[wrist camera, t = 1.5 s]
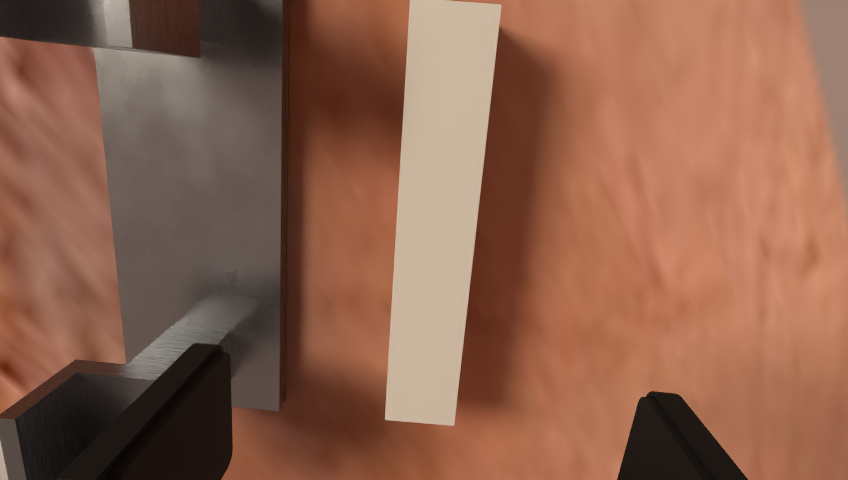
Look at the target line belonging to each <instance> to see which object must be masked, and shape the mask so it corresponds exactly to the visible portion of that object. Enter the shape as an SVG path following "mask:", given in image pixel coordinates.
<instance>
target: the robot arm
mask: <svg viewBox="0 0 848 480" xmlns="http://www.w3.org/2000/svg"><path fill="white" fill-rule="evenodd" d="M232 449H233V447H232V402H231V359H230V354H229V353H228V352H224V351H223V348H222V346H221V345H214V344H205V343H193V344H192V345H191V346H190V347H189V348H188V349H187V350H186V351H185V352H184V353H183V354H182V355H181V356H180V357H179V358H178V359H177V360H176V361H175V362H174V363H173V364H172V365H171V366H170V367H169V368H168V369H166V370H165V371H164V372H163V373H162V374H161V375H160V376H159V377H158V378H157V379H156V380H155V381H154V382H153V383H152V384H151V385H150V386H149V387H148V388H147V389H146V390H145V391H144V392H143V393H142V394H141V395H140V396H139V397H138V398H137V399H136V400H135V401H134V402H133V403H131V404H130V405H129V406H128V407H127V408H126V409H125V410H124V411H123V412H122V413H121V414H120V415H119V416H118V417H117V418H116V419H115V420H114V421H113V422H112V423H111V424H110V425H109V426H108V427H107V428H106V429H105V430H104V431H103V432H102V433H101V434H100V435H99V436H98V437H97V438H96V439H95V440H94V441H93V442H92V443H91V444H90V445H89V446H88V447H87V448H86V449H85V450H83V451H82V452H81V453H80V454H79V455H78V456H77V457H76V458H75V459H74V460H73V461H72V462H71V463H70V464H69V465H68V466H67V467H66V468H65V469H64V470H63V471H62V472H61V473H60V474H59V475H58V476H57V477H56V478H55V479H54V480H221V479H222V477H223V475H224V473H225V472H226V470H227V468H228V466H229V464H230V461H231V457H232ZM617 480H748V479H747V478H746V477H745V475H744V474H743V473H742V472H741V470H740V469H739V468H738V467H737V465H736V464H735V463H734V462H733V460H732V459H731V458H730V457H729V455H728V454H727V453H726V452H725V450H724V449H723V448H722V447H721V446H720V444H719V443H718V442H717V441H716V439H715V438H714V437H713V436H712V434H711V433H710V432H709V431H708V429H707V428H706V427H705V426H704V424H703V423H702V422H701V421H700V420H699V418H698V417H697V416H696V415H695V413H694V412H693V411H692V410H691V408H690V407H689V406H688V405H687V403H686V402H685V401H684V400H683V398H682V397H681V396H680V395H678V394H673V393H664V392H654V391H651V392H649V393H648V394H647V396H646V397H641V398H640V400H639V402H638V405H637V409H636V413H635V416H634V420H633V424H632V427H631V431H630V435H629V438H628V442H627V446H626V449H625V453H624V457H623V460H622V464H621V468H620V472H619V475H618V479H617Z"/></svg>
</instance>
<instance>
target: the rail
mask: <svg viewBox="0 0 848 480" xmlns="http://www.w3.org/2000/svg"><path fill="white" fill-rule="evenodd" d="M500 13H501V5H499V4H486V3H473V2H460V1H447V0H410V10H409V26H408V43H407V60H406V76H405V93H404V109H403V126H402V143H401V159H400V176H399V193H398V209H397V226H396V243H395V259H394V276H393V292H392V309H391V326H390V342H389V359H388V376H387V392H386V409H385V420H392V421H404V422H416V423H427V424H439V425H451V426H454V423H455V414H456V405H457V396H458V387H459V378H460V369H461V360H462V351H463V342H464V334H465V325H466V316H467V307H468V298H469V289H470V280H471V271H472V262H473V254H474V245H475V236H476V227H477V218H478V209H479V200H480V191H481V182H482V174H483V165H484V156H485V147H486V138H487V129H488V120H489V111H490V102H491V93H492V85H493V76H494V67H495V58H496V49H497V40H498V31H499V22H500Z"/></svg>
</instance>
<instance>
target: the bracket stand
mask: <svg viewBox="0 0 848 480" xmlns="http://www.w3.org/2000/svg"><path fill="white" fill-rule="evenodd" d="M289 19H290V0H0V37H6V38H13V39H21V40H28V41H37V42H46V43H56V44H66V45H76V46H85V47H94V52H95V61H96V71H97V81H98V91H99V101H100V110H101V120H102V130H103V140H104V149H105V159H106V169H107V179H108V189H109V198H110V208H111V218H112V228H113V237H114V247H115V257H116V267H117V276H118V286H119V296H120V306H121V316H122V325H123V335H124V345H125V355H126V364H127V365H124V364H114V363H105V362H95V361H86V360H74V361H73V362H72V363H70V364H69V365H68V366H66V367H65V368H63V369H62V370H61V371H59V372H58V373H57V374H55V375H54V376H52V377H51V378H50V379H48V380H47V381H46V382H44V383H43V384H41V385H40V386H39V387H37V388H36V389H34V390H33V391H32V392H30V393H29V394H28V395H26V396H25V397H23V398H22V399H21V400H19V401H18V402H17V403H15V404H14V405H12V406H11V407H10V408H8V409H7V410H6V411H4V412H3V413H1V414H0V441H1V446H2V451H3V456H4V461H5V466H6V471H7V476H8V480H54V479H55V478H56V477H57V476H58V475H59V474H60V473H61V472H62V471H63V470H64V469H65V468H66V467H67V466H68V465H69V464H70V463H71V462H72V461H73V460H74V459H75V458H76V457H77V456H78V455H79V454H80V453H81V452H82V451H83V450H85V449H86V448H87V447H88V446H89V445H90V444H91V443H92V442H93V441H94V440H95V439H96V438H97V437H98V436H99V435H100V434H101V433H102V432H103V431H104V430H105V429H106V428H107V427H108V426H109V425H110V424H111V423H112V422H113V421H114V420H115V419H116V418H117V417H118V416H119V415H120V414H121V413H122V412H123V411H124V410H125V409H126V408H127V407H128V406H129V405H130V404H131V403H133V402H134V401H135V400H136V399H137V398H138V397H139V396H140V395H141V394H142V393H143V392H144V391H145V390H146V389H147V388H148V387H149V386H150V385H151V384H152V383H153V382H154V381H155V380H156V379H157V378H158V377H159V376H160V375H161V374H162V373H163V372H164V371H165V370H166V369H168V368H169V367H170V366H171V365H172V364H173V363H174V362H175V361H176V360H177V359H178V358H179V357H180V356H181V355H182V354H183V353H184V352H185V351H186V350H187V349H188V348H189V347H190V346H191V345H192V344H193V343H205V344H214V345H221V346H222V348H223V351H224V352H228V353H229V354H230V359H231V402H232V407H242V408H251V409H261V410H271V411H280V409H281V407H282V405H283V403H284V401H285V346H286V264H287V182H288V101H289Z"/></svg>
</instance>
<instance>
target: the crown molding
mask: <svg viewBox="0 0 848 480" xmlns="http://www.w3.org/2000/svg"><path fill="white" fill-rule="evenodd" d="M0 480H8V476H7V471H6V466H5V461H4V456H3V451H2V446H1V441H0Z"/></svg>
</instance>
